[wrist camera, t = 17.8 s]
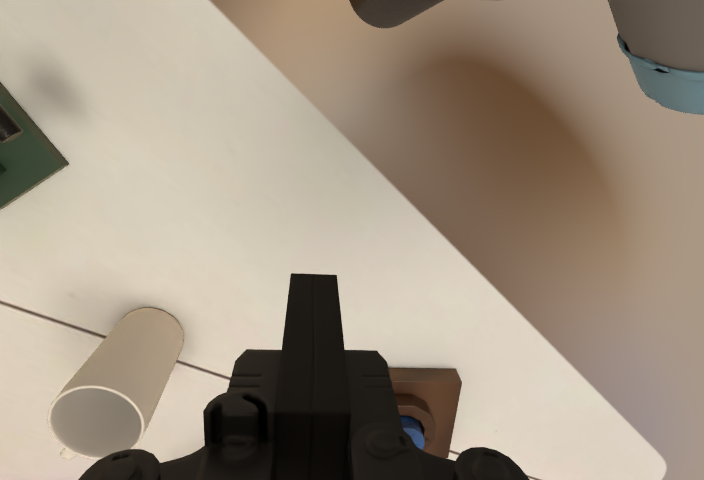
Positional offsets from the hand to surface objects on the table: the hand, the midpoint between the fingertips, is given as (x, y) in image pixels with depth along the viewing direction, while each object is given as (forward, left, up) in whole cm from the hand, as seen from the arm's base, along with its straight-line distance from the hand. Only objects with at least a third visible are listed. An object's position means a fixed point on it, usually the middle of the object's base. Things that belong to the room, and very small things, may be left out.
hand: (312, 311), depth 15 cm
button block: (-10, +26, -26) cm, 38 cm away
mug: (+16, +19, -27) cm, 36 cm away
